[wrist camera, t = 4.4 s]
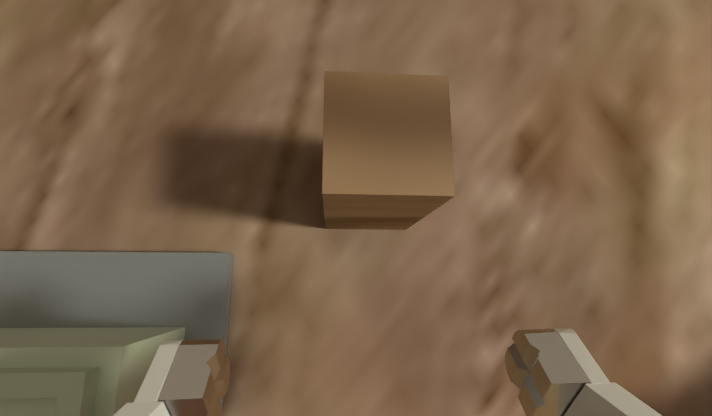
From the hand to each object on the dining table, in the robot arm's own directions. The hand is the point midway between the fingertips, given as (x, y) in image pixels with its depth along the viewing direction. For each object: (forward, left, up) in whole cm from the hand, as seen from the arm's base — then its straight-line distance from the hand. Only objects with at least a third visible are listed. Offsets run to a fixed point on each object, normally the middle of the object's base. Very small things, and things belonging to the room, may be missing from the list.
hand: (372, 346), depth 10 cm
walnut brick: (+7, +1, -11) cm, 14 cm away
